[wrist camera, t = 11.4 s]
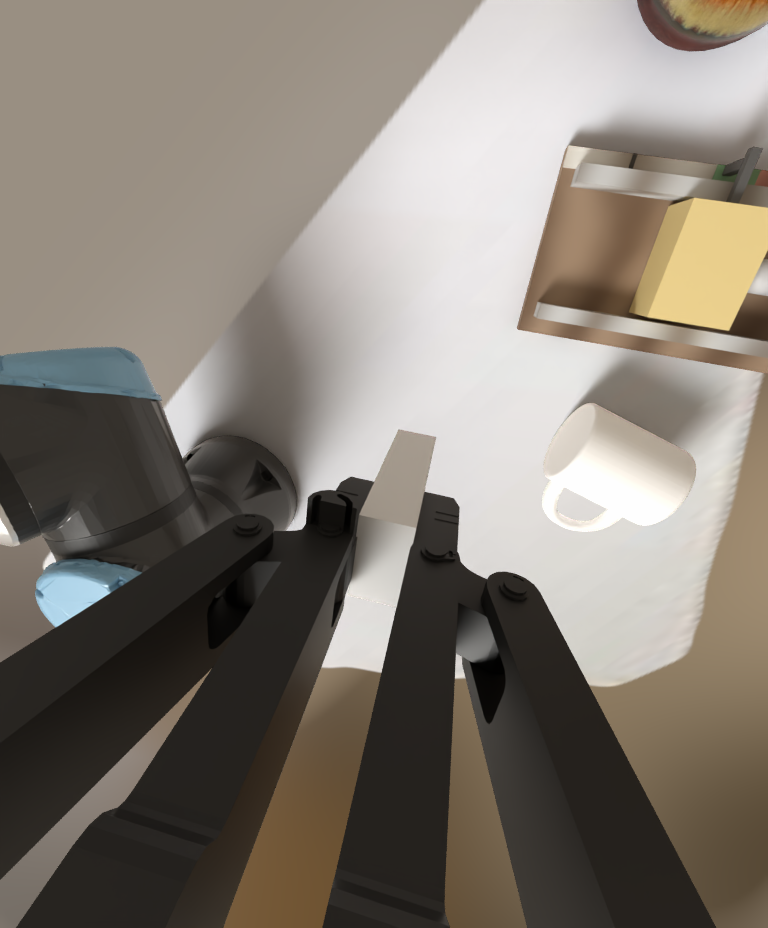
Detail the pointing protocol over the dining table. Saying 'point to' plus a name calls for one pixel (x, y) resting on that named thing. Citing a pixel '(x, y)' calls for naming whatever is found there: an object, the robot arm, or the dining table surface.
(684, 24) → the vase
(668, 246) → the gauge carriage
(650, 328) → the bench
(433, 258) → the dining table surface
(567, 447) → the mug
